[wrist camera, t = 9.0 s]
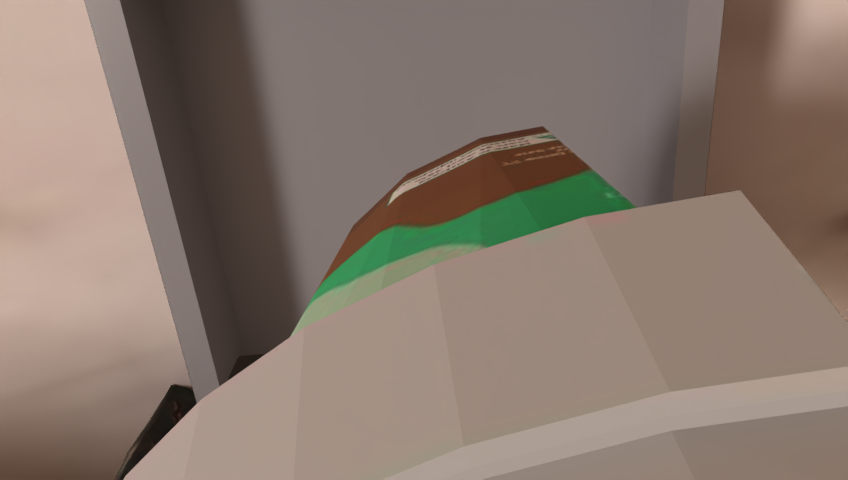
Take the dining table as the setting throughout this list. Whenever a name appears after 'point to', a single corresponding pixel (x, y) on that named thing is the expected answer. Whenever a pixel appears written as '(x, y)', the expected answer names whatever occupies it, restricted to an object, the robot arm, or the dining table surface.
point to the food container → (538, 342)
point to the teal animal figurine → (159, 426)
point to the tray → (372, 126)
